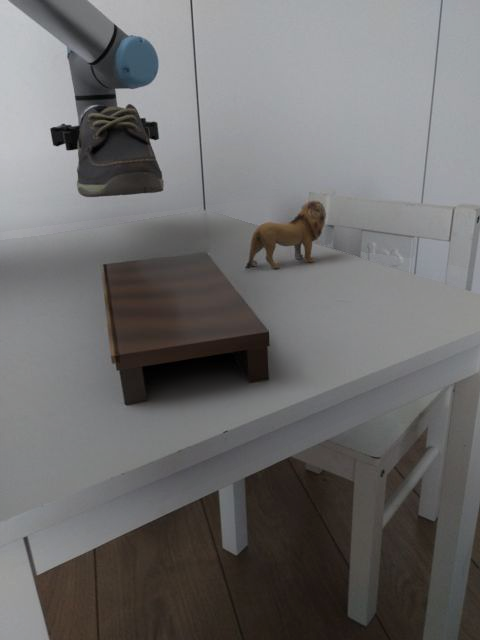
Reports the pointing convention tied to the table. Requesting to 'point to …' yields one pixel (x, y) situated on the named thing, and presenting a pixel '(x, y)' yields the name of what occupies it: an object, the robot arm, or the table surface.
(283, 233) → the lion figurine
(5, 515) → the table surface
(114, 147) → the boat shoe
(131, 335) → the shoe shelf
